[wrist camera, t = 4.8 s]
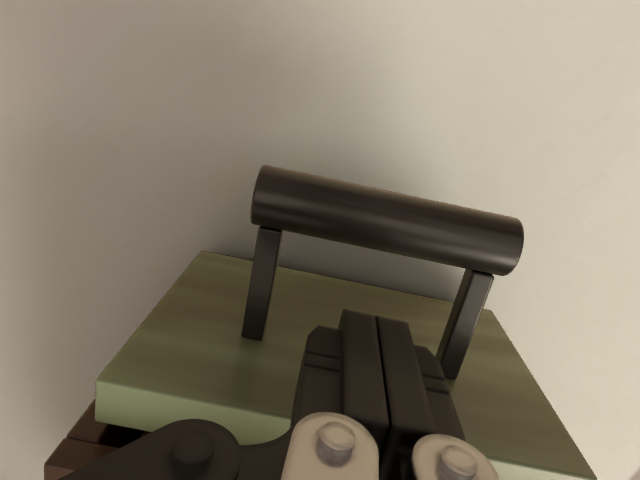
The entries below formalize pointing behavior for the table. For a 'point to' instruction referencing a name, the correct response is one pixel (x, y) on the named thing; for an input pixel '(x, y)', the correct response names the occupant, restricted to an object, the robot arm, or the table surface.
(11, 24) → the table surface
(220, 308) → the drawer
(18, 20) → the table surface
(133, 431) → the cabinet
